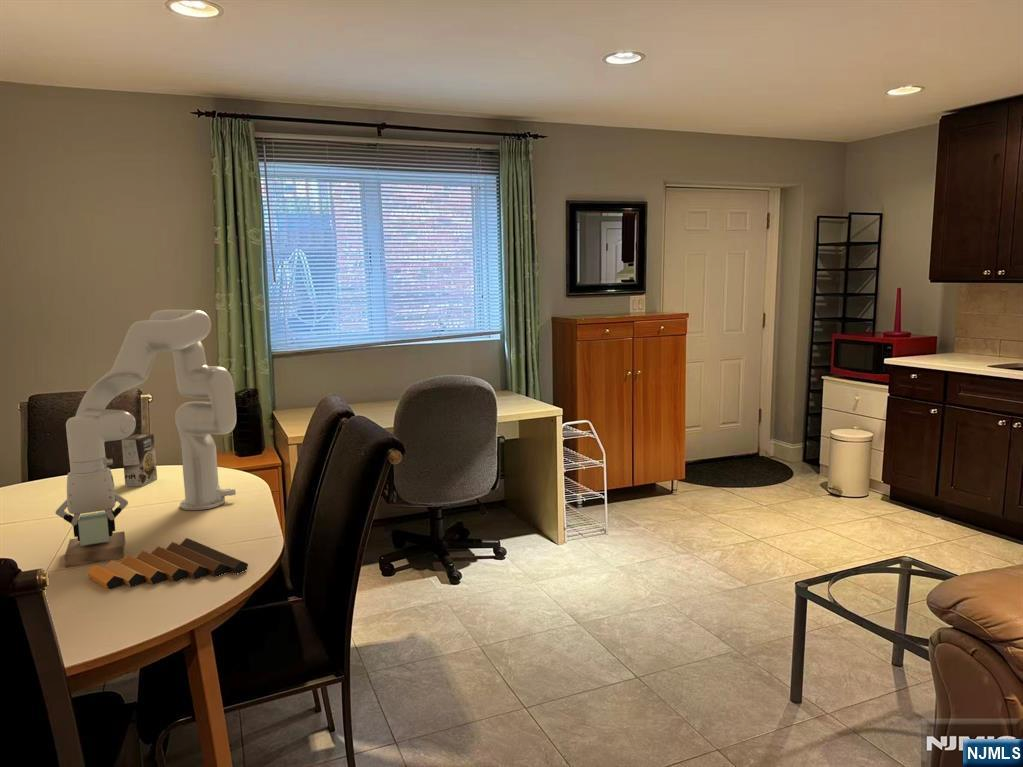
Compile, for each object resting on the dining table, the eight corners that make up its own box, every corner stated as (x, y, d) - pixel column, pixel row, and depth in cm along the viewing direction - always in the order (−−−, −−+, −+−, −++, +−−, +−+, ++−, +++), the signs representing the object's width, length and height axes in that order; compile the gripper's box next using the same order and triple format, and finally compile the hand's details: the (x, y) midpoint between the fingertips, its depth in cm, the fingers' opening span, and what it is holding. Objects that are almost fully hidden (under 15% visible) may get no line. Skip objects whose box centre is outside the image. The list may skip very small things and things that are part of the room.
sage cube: (110, 533, 177) (108, 510, 176) (108, 541, 172) (106, 517, 171) (82, 537, 174) (80, 514, 173) (80, 545, 169) (78, 521, 168)
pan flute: (248, 572, 163) (194, 548, 178) (247, 558, 163) (193, 535, 178) (138, 612, 144) (87, 581, 159) (137, 596, 143) (86, 567, 158)
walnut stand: (125, 542, 182) (124, 531, 181) (123, 558, 171) (122, 546, 170) (71, 550, 176) (70, 539, 176) (65, 567, 166) (64, 555, 165)
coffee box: (143, 486, 232) (139, 439, 230) (124, 486, 232) (120, 439, 230) (158, 479, 241) (154, 433, 239) (140, 479, 241) (136, 433, 239)
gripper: (129, 458, 178) (135, 526, 180) (48, 467, 170) (56, 538, 172) (128, 465, 171) (134, 535, 173) (44, 474, 163) (52, 548, 166)
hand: (95, 536), depth 173 cm, fingers closed on sage cube, 6 cm apart
